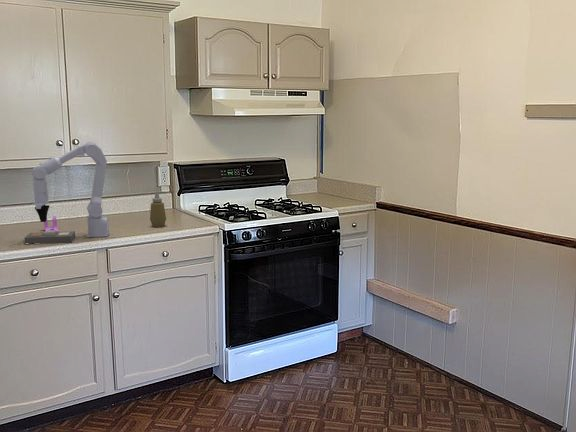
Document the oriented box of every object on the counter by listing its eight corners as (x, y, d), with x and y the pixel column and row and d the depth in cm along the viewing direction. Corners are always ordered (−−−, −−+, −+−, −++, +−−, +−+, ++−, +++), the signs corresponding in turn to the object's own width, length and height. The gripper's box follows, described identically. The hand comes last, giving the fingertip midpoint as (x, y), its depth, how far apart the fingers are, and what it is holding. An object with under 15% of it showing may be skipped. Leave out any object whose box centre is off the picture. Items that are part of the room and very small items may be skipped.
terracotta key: (43, 239, 273) (42, 233, 273) (40, 241, 269) (40, 235, 269) (33, 239, 273) (32, 233, 272) (30, 242, 269) (30, 235, 268)
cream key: (70, 238, 275) (69, 232, 275) (68, 240, 271) (67, 234, 270) (60, 239, 275) (60, 232, 274) (58, 241, 270) (57, 234, 270)
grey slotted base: (75, 237, 278) (75, 231, 278) (71, 242, 269) (70, 236, 268) (30, 239, 275) (30, 232, 275) (24, 244, 266) (24, 237, 265)
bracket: (44, 230, 296) (43, 216, 294) (56, 229, 298) (55, 215, 297) (47, 235, 284) (46, 221, 283) (59, 234, 287) (58, 219, 285)
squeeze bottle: (162, 228, 299) (161, 192, 295) (147, 227, 300) (145, 192, 297) (168, 224, 306) (167, 190, 303) (154, 224, 308) (152, 190, 305)
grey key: (56, 236, 274) (56, 230, 274) (54, 238, 270) (54, 232, 269) (46, 236, 273) (46, 230, 273) (44, 238, 269) (43, 232, 269)
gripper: (35, 190, 276) (38, 218, 279) (27, 195, 262) (30, 225, 265) (51, 189, 278) (53, 218, 280) (44, 194, 264) (46, 224, 266)
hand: (43, 221), depth 273 cm, fingers closed
